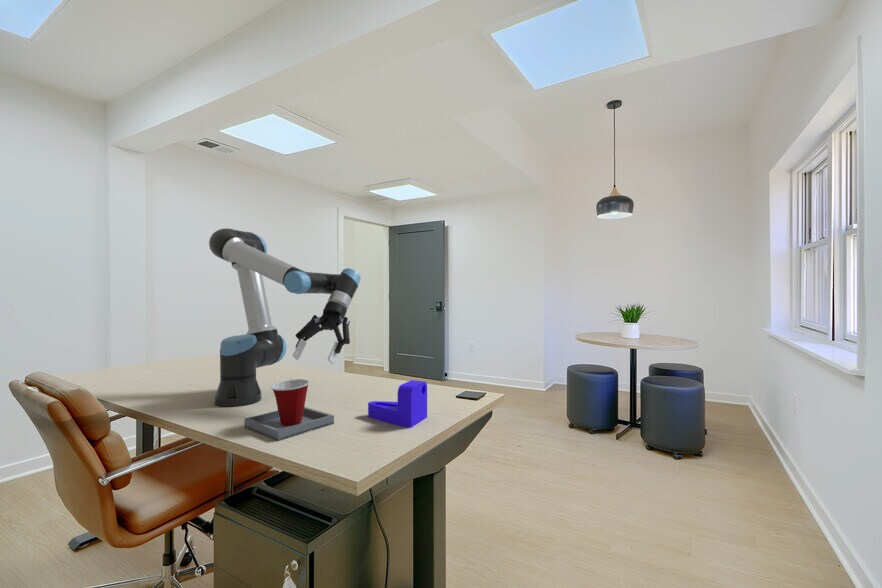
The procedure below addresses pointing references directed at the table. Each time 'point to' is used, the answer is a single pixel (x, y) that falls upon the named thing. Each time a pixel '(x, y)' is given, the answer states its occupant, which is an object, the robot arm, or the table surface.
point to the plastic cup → (290, 400)
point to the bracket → (403, 406)
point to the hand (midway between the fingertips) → (312, 359)
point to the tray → (274, 428)
